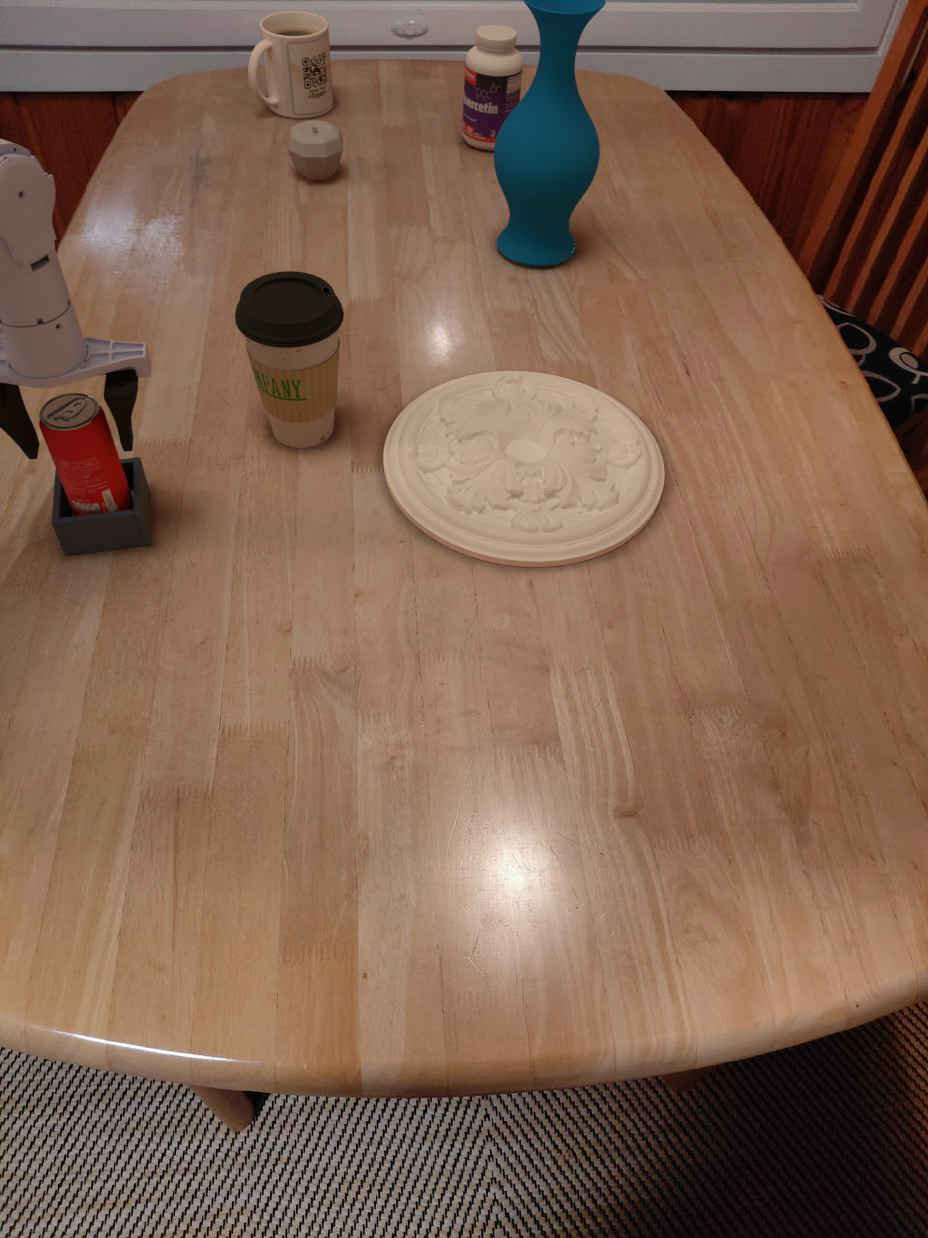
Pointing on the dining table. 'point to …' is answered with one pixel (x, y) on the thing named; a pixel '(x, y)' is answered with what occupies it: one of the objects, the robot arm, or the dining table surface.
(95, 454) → the beverage can
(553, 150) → the vase
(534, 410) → the ceiling medallion
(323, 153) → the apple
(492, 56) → the pill bottle
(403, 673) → the dining table surface
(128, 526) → the grey square box
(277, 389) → the coffee cup
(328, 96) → the mug
